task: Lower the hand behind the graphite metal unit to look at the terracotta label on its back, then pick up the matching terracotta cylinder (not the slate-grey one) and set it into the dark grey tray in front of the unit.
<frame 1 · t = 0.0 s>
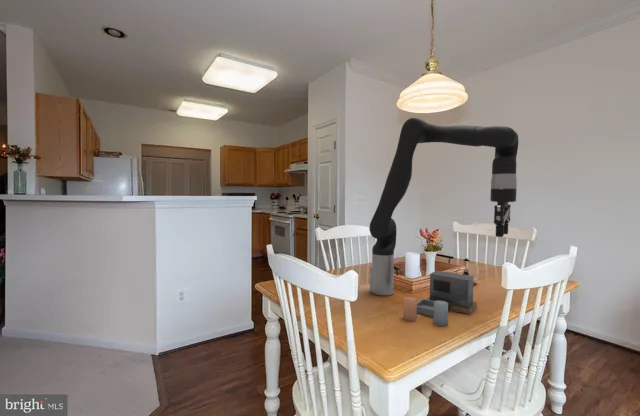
hand: (501, 235, 105), 29 cm above the table, tool pointing down, fingers open, 8 cm apart
unit: (450, 305, 119), on the table
slate part: (440, 323, 103), on the table
tray: (430, 311, 113), on the table
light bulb: (465, 283, 149), on the table
terracotta part: (409, 318, 107), on the table
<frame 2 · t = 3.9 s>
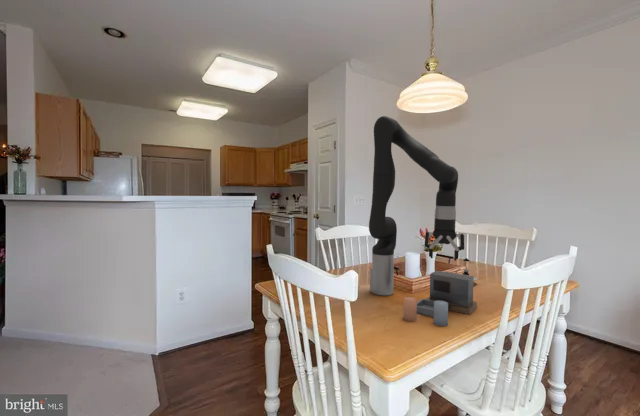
hand: (443, 259, 120), 18 cm above the table, tool pointing down, fingers open, 8 cm apart
nothing on the table moved.
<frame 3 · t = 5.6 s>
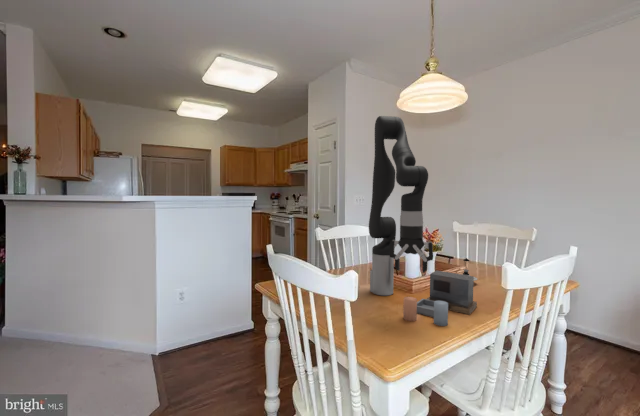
hand: (410, 271, 106), 17 cm above the table, tool pointing down, fingers open, 8 cm apart
nothing on the table moved.
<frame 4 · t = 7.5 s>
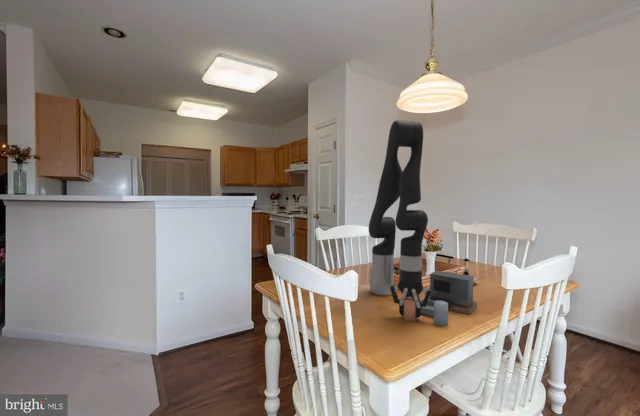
hand: (409, 316, 107), 1 cm above the table, tool pointing down, fingers closed on terracotta part, 4 cm apart
terracotta part: (409, 318, 107), on the table, touching gripper
everything else where it was.
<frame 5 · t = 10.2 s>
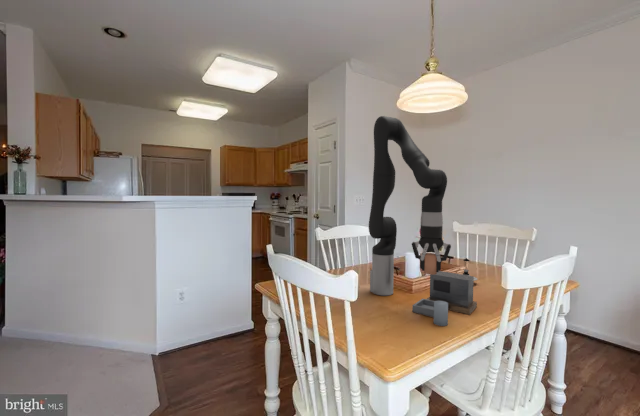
hand: (430, 270, 113), 15 cm above the table, tool pointing down, fingers closed on terracotta part, 4 cm apart
terracotta part: (430, 272, 113), point 14 cm above the table, touching gripper
everything else where it was.
when the fingers open (3 cm above the table, at t = 13.0 s): terracotta part drops 1 cm, resting on tray.
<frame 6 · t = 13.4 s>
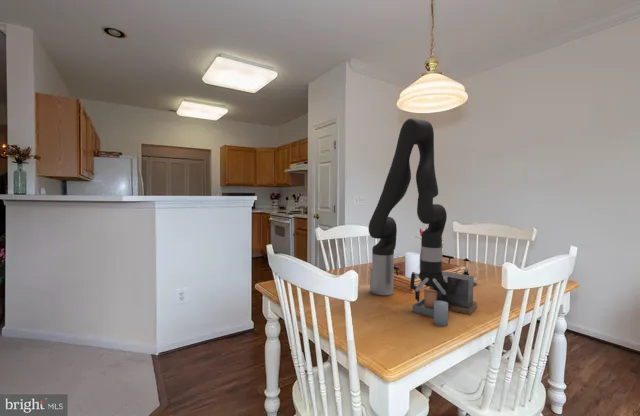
hand: (430, 302, 113), 3 cm above the table, tool pointing down, fingers open, 8 cm apart
terracotta part: (430, 309, 113), point 1 cm above the table, touching tray
everything else where it was.
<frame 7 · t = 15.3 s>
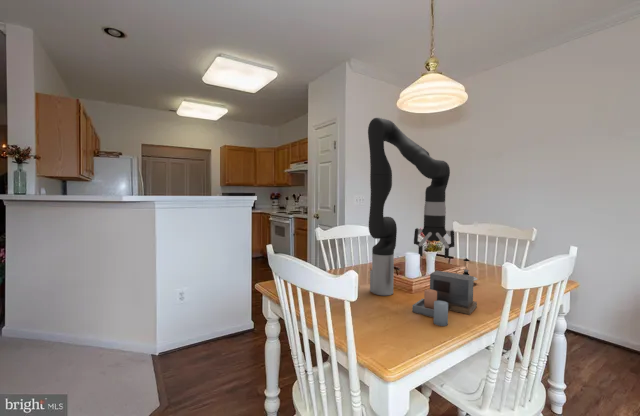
hand: (433, 256, 115), 20 cm above the table, tool pointing down, fingers open, 8 cm apart
nothing on the table moved.
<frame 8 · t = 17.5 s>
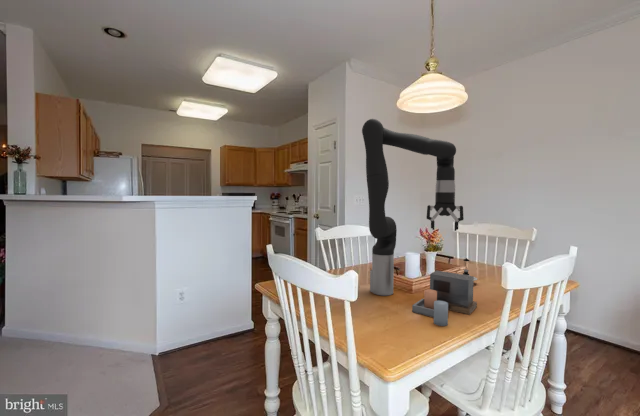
hand: (444, 230, 129), 28 cm above the table, tool pointing down, fingers open, 8 cm apart
nothing on the table moved.
at the end: terracotta part 0.1 cm off-centre on the tray, point 0.6 cm above the tray's base; terracotta part tilted 0°; slate part moved 0.0 cm from its start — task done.
